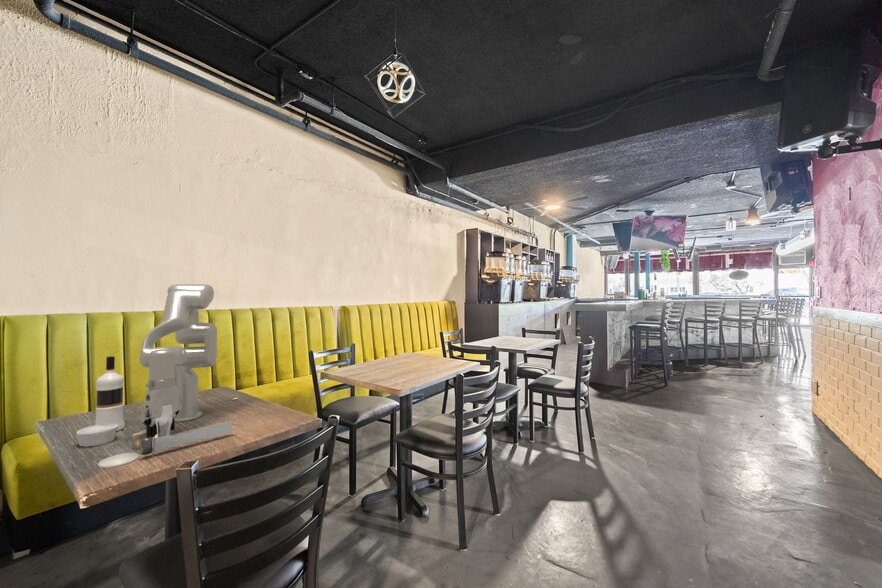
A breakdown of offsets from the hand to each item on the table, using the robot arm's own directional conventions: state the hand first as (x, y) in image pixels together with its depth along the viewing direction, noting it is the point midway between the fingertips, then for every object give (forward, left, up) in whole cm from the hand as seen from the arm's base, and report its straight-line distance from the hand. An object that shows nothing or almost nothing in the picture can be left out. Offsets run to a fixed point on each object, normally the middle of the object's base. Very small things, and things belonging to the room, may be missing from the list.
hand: (160, 432), depth 131 cm
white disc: (-1, -13, -5) cm, 14 cm away
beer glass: (0, 0, -5) cm, 5 cm away
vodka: (-35, +7, -5) cm, 36 cm away
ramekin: (-26, -3, -5) cm, 27 cm away
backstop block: (-6, 0, -5) cm, 7 cm away
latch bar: (+11, +2, -3) cm, 11 cm away
